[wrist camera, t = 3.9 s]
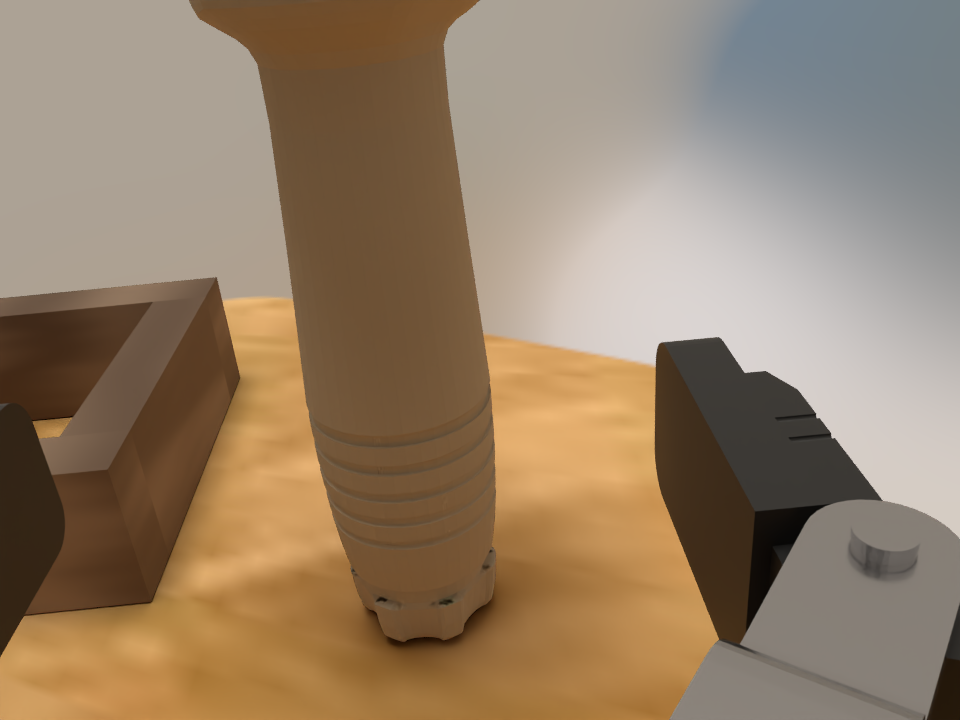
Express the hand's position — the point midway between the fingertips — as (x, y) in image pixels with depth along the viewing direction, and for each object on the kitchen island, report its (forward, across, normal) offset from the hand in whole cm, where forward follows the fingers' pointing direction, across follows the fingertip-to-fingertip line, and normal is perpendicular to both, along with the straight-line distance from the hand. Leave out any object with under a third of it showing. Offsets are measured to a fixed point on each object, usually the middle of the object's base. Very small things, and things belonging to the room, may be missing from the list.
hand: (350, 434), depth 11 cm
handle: (+7, 0, +9) cm, 11 cm away
